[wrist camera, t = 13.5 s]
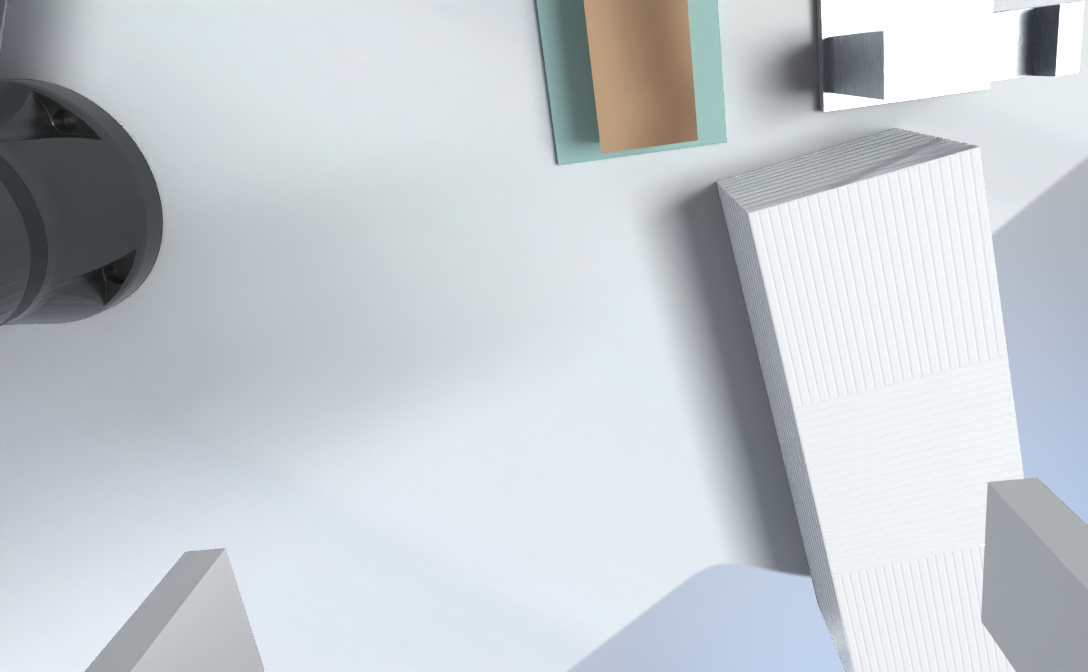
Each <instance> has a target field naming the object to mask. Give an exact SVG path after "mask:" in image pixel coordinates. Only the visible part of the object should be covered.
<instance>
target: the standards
mask: <svg viewBox="0 0 1088 672" xmlns="http://www.w3.org/2000/svg"><path fill="white" fill-rule="evenodd" d="M1084 3H1085V1H1079V2H1071V3H1063V4H1055V5H1047V6H1039V7H1031V8H1024V9H1016V10H1008V11H1000V12H993V0H817V35H818V72H819V110H820V111H823V112H827V111H834V110H841V109H848V108H855V107H863V106H870V105H877V104H884V103H891V102H899V101H906V100H913V99H920V98H927V97H935V96H942V95H949V94H956V93H963V92H970V91H978V90H985V89H990V81H997V80H1004V79H1012V78H1019V77H1026V76H1062V75H1069V74H1076V73H1079V68H1080V55H1081V42H1082V29H1083V16H1084Z"/></svg>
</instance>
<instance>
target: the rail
mask: <svg viewBox="0 0 1088 672" xmlns="http://www.w3.org/2000/svg"><path fill="white" fill-rule="evenodd" d="M584 9H585V17H586V26H587V35H588V43H589V52H590V61H591V69H592V78H593V86H594V95H595V104H596V112H597V121H598V130H599V138H600V147H601V154H602V153H610V152H617V151H624V150H631V149H639V148H646V147H653V146H661V145H668V144H675V143H682V142H690V141H697V140H698V133H697V120H696V106H695V93H694V80H693V67H692V54H691V41H690V28H689V14H688V1H687V0H584Z"/></svg>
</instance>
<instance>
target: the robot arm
mask: <svg viewBox="0 0 1088 672" xmlns="http://www.w3.org/2000/svg"><path fill="white" fill-rule="evenodd" d="M7 3H8V0H0V51H1V44H2V37H3V30H4V23H5V17H6V10H7ZM162 223H163V222H162V209H161V202H160V197H159V193H158V189H157V186H156V183H155V180H154V177H153V175H152V172H151V170H150V168H149V166H148V164H147V162H146V160H145V158H144V156H143V154H142V153H141V151H140V150H139V148H138V147H137V145H136V144H135V142H134V141H133V140H132V138H131V137H130V136H129V134H128V133H127V132H126V131H125V130H124V129H123V128H122V126H121V125H120V124H119V123H118V122H117V121H116V120H115V119H113V118H112V117H111V116H110V115H109V114H108V113H107V112H105V111H104V110H103V109H102V108H100V107H99V106H98V105H96V104H95V103H93V102H92V101H90V100H88V99H87V98H85V97H83V96H82V95H80V94H78V93H76V92H74V91H71V90H69V89H67V88H64V87H61V86H59V85H55V84H52V83H48V82H43V81H37V80H27V79H14V80H0V326H1V325H12V324H56V323H67V322H73V321H77V320H81V319H85V318H88V317H91V316H93V315H96V314H98V313H100V312H102V311H104V310H106V309H108V308H110V307H112V306H114V305H116V304H118V303H120V302H121V301H123V300H124V299H126V298H127V297H129V296H130V295H131V294H132V293H134V292H135V291H136V290H137V289H138V288H139V287H140V285H141V284H142V283H143V282H144V281H145V279H146V278H147V276H148V275H149V273H150V271H151V270H152V268H153V266H154V263H155V261H156V258H157V256H158V252H159V249H160V244H161V238H162ZM981 622H982V623H983V625H984V626H985V628H986V629H987V630H988V632H989V633H990V635H991V636H992V638H993V639H994V641H995V642H996V644H997V645H998V647H999V648H1000V649H1001V651H1002V652H1003V654H1004V655H1005V657H1006V658H1007V660H1008V661H1009V663H1010V664H1011V665H1012V667H1013V668H1014V670H1015V671H1016V672H1088V525H1087V524H1086V523H1085V522H1084V521H1083V520H1082V519H1081V518H1080V517H1078V516H1077V515H1076V514H1075V513H1074V512H1073V511H1072V510H1071V509H1070V508H1069V507H1068V506H1067V505H1066V504H1065V503H1064V502H1063V501H1062V500H1061V499H1059V497H1057V496H1056V495H1055V494H1054V493H1053V492H1052V491H1051V490H1050V489H1049V488H1048V487H1047V486H1046V485H1045V484H1044V483H1043V482H1042V481H1041V480H1039V479H1038V478H1027V479H1015V480H1004V481H992V482H988V484H987V505H986V526H985V547H984V568H983V589H982V610H981ZM85 672H264V667H263V664H262V661H261V658H260V655H259V652H258V649H257V646H256V642H255V639H254V636H253V633H252V630H251V627H250V624H249V621H248V617H247V614H246V611H245V608H244V605H243V602H242V599H241V596H240V593H239V589H238V586H237V583H236V580H235V577H234V574H233V571H232V568H231V564H230V561H229V558H228V555H227V552H226V549H225V548H223V549H212V550H200V551H189V552H185V553H184V554H183V555H182V557H181V558H180V559H179V560H178V561H177V563H176V564H175V565H174V566H173V567H172V568H171V570H170V571H169V572H168V573H167V574H166V576H165V577H164V578H163V579H162V580H161V582H160V583H159V584H158V585H157V586H156V587H155V589H154V590H153V591H152V592H151V593H150V595H149V596H148V597H147V598H146V599H145V601H144V602H143V603H142V604H141V605H140V606H139V608H138V609H137V610H136V611H135V612H134V614H133V615H132V616H131V617H130V618H129V620H128V621H127V622H126V623H125V624H124V625H123V627H122V628H121V629H120V630H119V631H118V633H117V634H116V635H115V636H114V637H113V639H112V640H111V641H110V642H109V643H108V644H107V646H106V647H105V648H104V649H103V650H102V652H101V653H100V654H99V655H98V656H97V658H96V659H95V660H94V661H93V662H92V663H91V665H90V666H89V667H88V668H87V669H86V671H85Z"/></svg>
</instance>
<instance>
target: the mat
mask: <svg viewBox="0 0 1088 672" xmlns="http://www.w3.org/2000/svg"><path fill="white" fill-rule="evenodd" d="M687 1H688V14H689V28H690V41H691V54H692V67H693V80H694V93H695V106H696V120H697V133H698V140H697V141H690V142H682V143H675V144H668V145H661V146H653V147H646V148H639V149H631V150H624V151H617V152H610V153H602V154H601V147H600V138H599V130H598V121H597V112H596V104H595V95H594V86H593V78H592V69H591V61H590V52H589V43H588V35H587V26H586V17H585V9H584V0H536V2H537V10H538V17H539V24H540V32H541V39H542V47H543V54H544V62H545V69H546V77H547V84H548V92H549V99H550V107H551V114H552V121H553V129H554V136H555V144H556V151H557V159H558V165H564V164H572V163H579V162H586V161H594V160H601V159H608V158H616V157H623V156H630V155H638V154H645V153H652V152H659V151H667V150H674V149H681V148H689V147H696V146H703V145H711V144H718V143H725V142H727V139H726V123H725V108H724V92H723V77H722V61H721V46H720V30H719V15H718V0H687Z"/></svg>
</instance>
